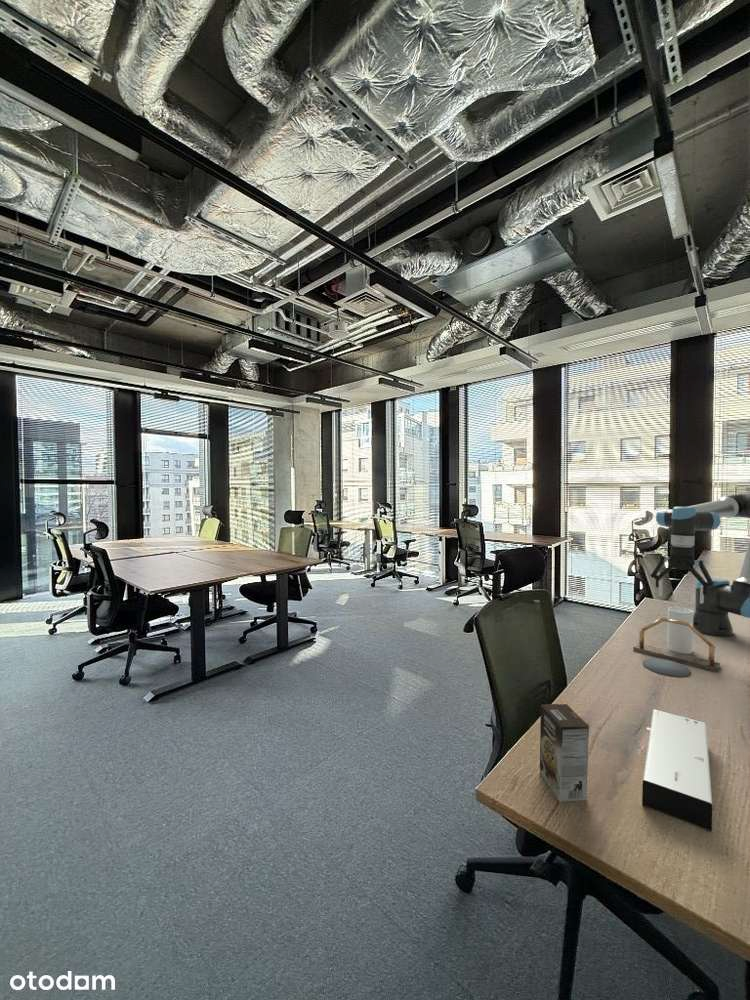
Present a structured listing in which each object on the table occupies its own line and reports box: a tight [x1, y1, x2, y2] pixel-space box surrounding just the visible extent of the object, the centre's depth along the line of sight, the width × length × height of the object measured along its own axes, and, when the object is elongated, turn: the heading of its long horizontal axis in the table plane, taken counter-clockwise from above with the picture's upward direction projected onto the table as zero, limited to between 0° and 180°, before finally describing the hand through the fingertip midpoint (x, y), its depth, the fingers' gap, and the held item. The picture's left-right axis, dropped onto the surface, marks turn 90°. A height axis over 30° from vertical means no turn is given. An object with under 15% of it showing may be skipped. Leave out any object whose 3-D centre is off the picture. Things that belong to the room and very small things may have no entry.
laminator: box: [641, 708, 714, 833], centre depth 97 cm, size 34×12×6 cm, turn 144°
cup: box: [666, 606, 694, 655], centre depth 169 cm, size 8×8×16 cm
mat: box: [642, 657, 691, 678], centre depth 152 cm, size 14×14×1 cm
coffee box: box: [539, 703, 590, 803], centre depth 92 cm, size 9×6×16 cm
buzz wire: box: [632, 617, 721, 673], centre depth 160 cm, size 6×26×15 cm, turn 43°
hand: (680, 599), depth 168 cm, fingers open, 13 cm apart
